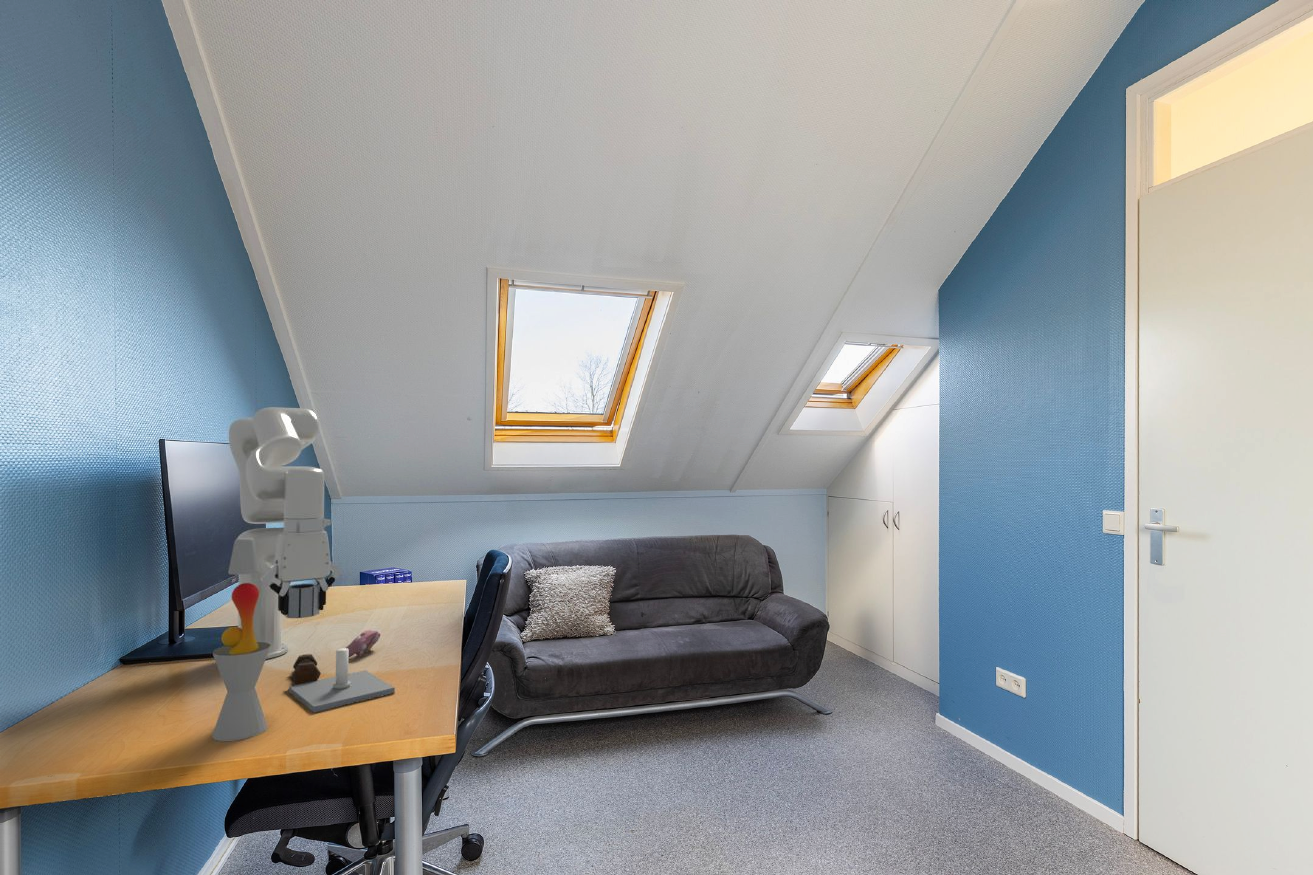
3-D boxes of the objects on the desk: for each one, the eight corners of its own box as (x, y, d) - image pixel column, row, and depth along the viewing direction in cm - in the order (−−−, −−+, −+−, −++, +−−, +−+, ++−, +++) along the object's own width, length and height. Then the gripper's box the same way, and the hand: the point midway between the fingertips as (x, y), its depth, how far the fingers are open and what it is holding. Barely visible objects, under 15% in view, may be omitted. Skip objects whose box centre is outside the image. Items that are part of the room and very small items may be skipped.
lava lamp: (272, 718, 129) (275, 534, 130) (264, 736, 121) (268, 540, 122) (216, 725, 126) (221, 536, 127) (205, 744, 117) (209, 542, 118)
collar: (281, 614, 143) (282, 585, 143) (313, 609, 147) (314, 582, 147) (289, 619, 139) (290, 590, 139) (322, 615, 143) (322, 586, 143)
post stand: (288, 692, 144) (289, 649, 144) (365, 675, 155) (366, 635, 155) (313, 712, 132) (314, 666, 132) (394, 693, 143) (395, 650, 144)
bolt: (308, 676, 160) (309, 693, 147) (287, 668, 158) (286, 684, 145) (322, 652, 162) (324, 667, 149) (301, 644, 160) (302, 659, 147)
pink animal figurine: (352, 665, 167) (365, 640, 167) (337, 656, 167) (349, 631, 167) (374, 654, 177) (386, 630, 176) (360, 645, 177) (372, 622, 177)
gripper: (341, 522, 152) (339, 602, 152) (253, 527, 140) (251, 614, 140) (352, 525, 146) (350, 608, 146) (262, 530, 135) (260, 621, 134)
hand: (302, 610), depth 143 cm, fingers closed on collar, 6 cm apart
